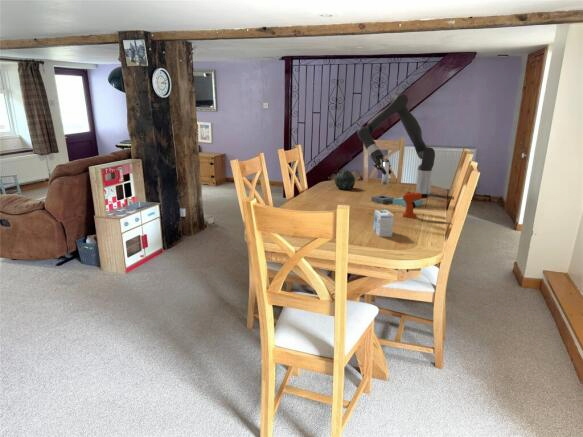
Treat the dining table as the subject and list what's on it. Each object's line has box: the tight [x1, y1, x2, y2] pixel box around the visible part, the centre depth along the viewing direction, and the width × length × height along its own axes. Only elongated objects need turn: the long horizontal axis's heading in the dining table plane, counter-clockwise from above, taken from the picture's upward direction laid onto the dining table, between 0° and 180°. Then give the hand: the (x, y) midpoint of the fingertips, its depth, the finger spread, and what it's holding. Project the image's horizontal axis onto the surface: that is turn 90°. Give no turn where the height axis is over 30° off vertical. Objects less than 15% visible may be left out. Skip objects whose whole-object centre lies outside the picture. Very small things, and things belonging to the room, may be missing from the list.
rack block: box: [392, 196, 424, 208], centre depth 261 cm, size 13×13×3 cm
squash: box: [334, 170, 356, 191], centre depth 306 cm, size 14×15×15 cm
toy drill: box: [402, 191, 438, 219], centre depth 229 cm, size 5×19×15 cm, turn 75°
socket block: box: [370, 194, 395, 205], centre depth 268 cm, size 10×10×3 cm
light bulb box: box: [373, 209, 395, 238], centre depth 201 cm, size 11×7×11 cm, turn 5°
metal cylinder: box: [381, 161, 390, 186], centre depth 263 cm, size 4×4×14 cm
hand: (387, 173), depth 261 cm, fingers closed on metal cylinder, 4 cm apart
